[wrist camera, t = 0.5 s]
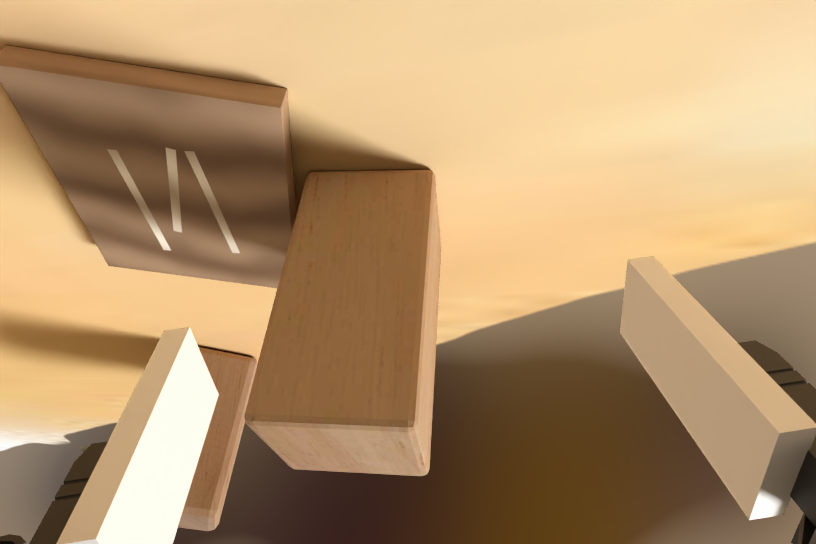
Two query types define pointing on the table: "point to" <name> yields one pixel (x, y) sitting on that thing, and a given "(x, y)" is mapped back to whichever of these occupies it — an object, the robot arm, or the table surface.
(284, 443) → the wooden block
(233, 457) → the block
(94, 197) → the marked board
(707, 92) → the table surface
